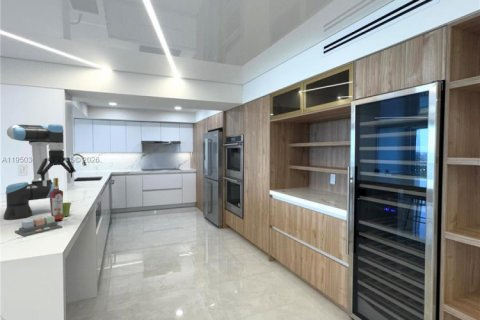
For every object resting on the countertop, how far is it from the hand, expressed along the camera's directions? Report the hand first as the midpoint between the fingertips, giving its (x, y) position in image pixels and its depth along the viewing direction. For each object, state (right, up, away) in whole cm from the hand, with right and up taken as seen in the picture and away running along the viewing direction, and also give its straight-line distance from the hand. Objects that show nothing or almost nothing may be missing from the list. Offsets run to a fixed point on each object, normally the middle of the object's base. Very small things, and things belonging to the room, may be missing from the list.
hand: (57, 184), depth 157 cm
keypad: (-4, -26, -9) cm, 27 cm away
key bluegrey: (-7, -23, -14) cm, 27 cm away
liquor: (-7, -25, +10) cm, 28 cm away
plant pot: (-11, -24, +22) cm, 34 cm away
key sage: (-1, -22, -5) cm, 23 cm away
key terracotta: (-4, -22, -9) cm, 25 cm away
